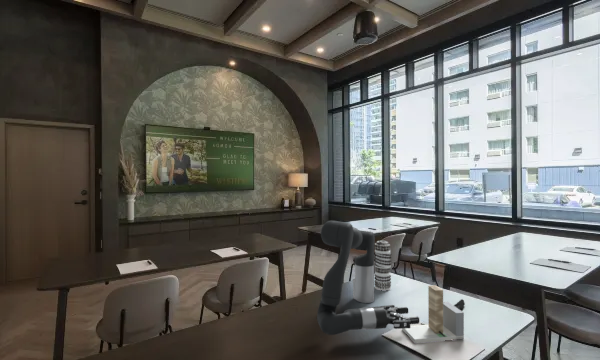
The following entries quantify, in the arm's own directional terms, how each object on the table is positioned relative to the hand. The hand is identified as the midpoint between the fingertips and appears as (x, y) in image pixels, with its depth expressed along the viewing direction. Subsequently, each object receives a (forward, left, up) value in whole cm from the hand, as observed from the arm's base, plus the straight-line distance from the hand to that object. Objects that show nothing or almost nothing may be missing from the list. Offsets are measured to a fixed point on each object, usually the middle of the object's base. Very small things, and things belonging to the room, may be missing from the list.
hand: (413, 315), depth 120 cm
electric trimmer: (+5, +35, -8) cm, 36 cm away
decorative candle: (-33, +38, -8) cm, 51 cm away
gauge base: (+5, +6, -8) cm, 11 cm away
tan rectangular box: (+7, +6, -6) cm, 11 cm away
